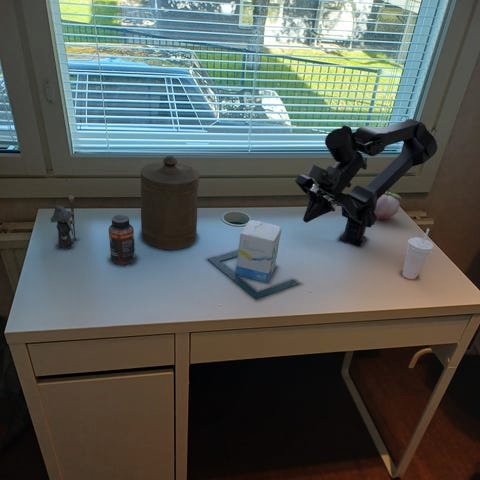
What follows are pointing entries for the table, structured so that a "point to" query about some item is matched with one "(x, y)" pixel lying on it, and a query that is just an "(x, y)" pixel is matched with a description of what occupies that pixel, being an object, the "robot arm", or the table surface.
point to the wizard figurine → (64, 224)
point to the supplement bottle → (121, 240)
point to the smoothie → (416, 255)
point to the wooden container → (169, 204)
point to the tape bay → (244, 285)
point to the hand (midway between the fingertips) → (304, 221)
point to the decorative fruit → (387, 205)
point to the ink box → (258, 250)
